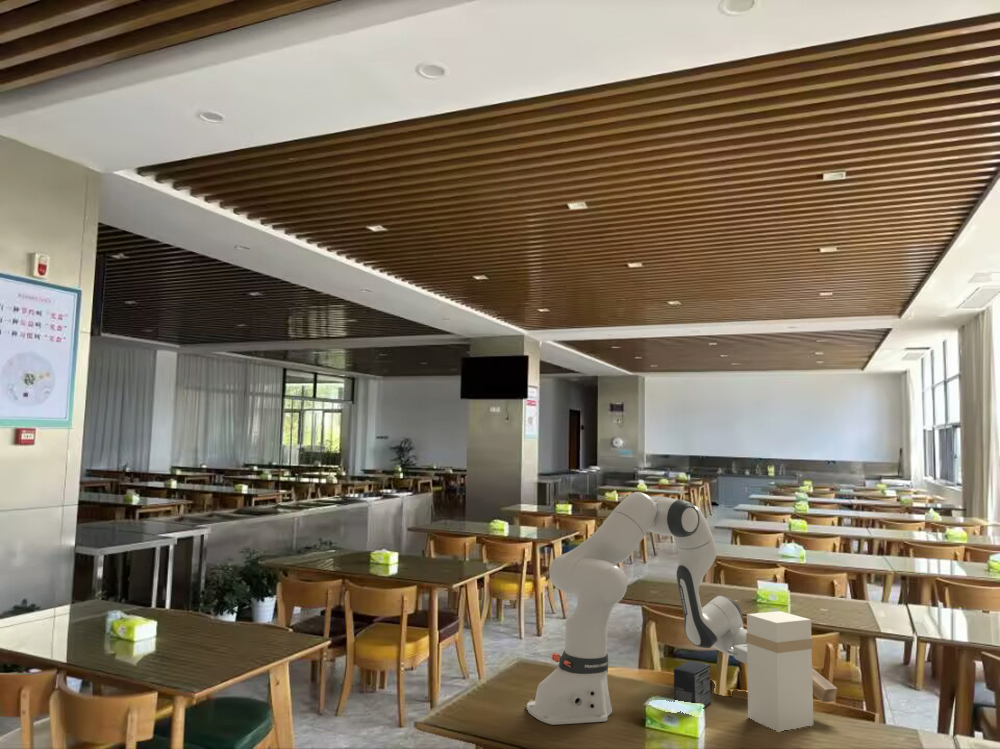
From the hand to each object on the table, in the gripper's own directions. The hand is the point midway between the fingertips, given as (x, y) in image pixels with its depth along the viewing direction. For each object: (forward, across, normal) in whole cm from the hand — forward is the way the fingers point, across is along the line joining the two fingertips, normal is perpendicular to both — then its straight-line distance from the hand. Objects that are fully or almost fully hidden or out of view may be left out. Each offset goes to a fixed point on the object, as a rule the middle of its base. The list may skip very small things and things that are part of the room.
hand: (788, 659), depth 192 cm
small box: (-7, -28, +11) cm, 31 cm away
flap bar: (+6, -1, +4) cm, 7 cm away
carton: (+10, -14, +11) cm, 21 cm away
